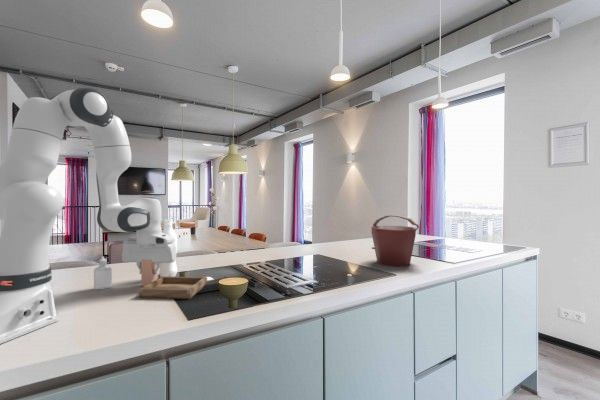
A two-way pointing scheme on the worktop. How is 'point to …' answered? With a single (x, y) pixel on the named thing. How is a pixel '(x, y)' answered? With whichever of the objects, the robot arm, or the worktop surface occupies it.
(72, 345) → the worktop surface
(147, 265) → the shaker
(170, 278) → the tray
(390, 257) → the bucket
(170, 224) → the water bottle
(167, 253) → the robot arm
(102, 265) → the eye dropper bottle
